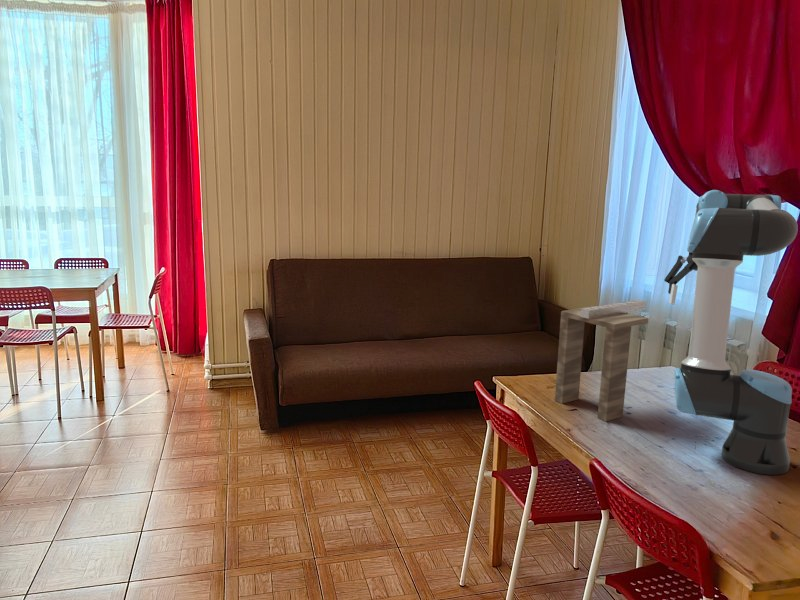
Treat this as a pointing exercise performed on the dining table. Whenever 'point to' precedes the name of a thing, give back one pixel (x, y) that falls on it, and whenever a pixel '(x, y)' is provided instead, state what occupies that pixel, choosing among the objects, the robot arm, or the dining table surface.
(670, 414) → the dining table surface
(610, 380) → the striped wooden stand
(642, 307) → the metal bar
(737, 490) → the dining table surface
